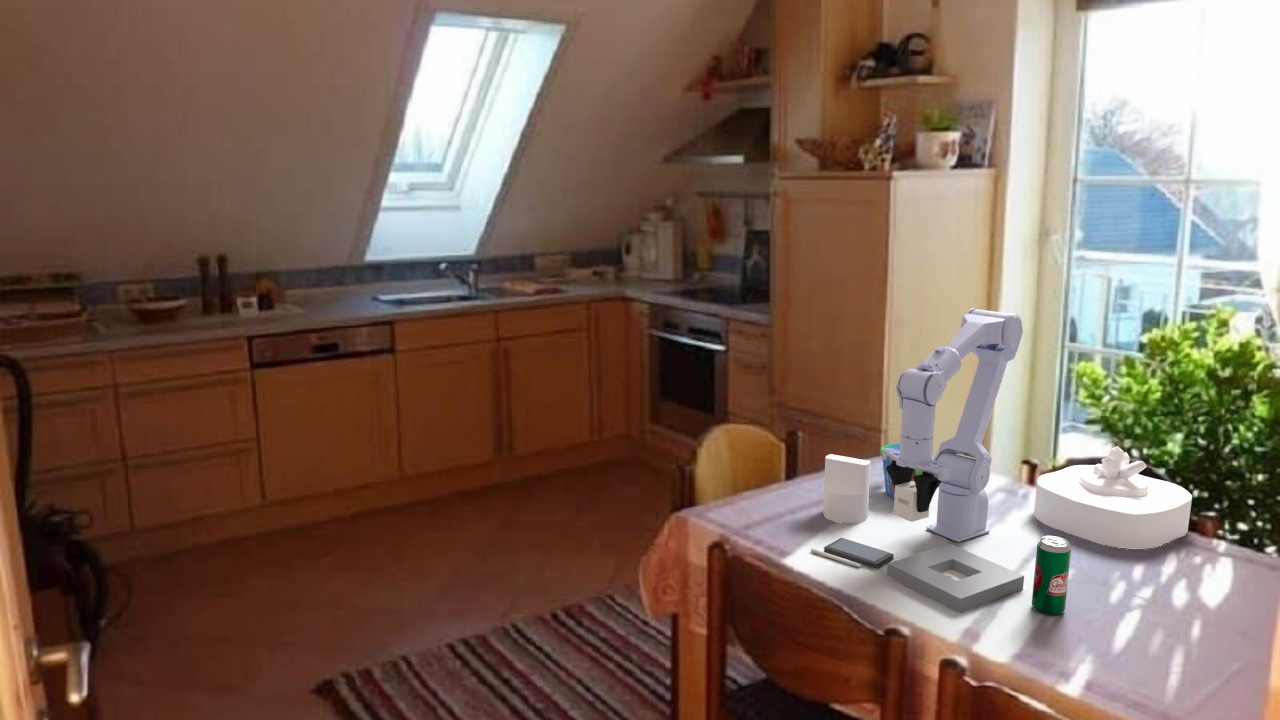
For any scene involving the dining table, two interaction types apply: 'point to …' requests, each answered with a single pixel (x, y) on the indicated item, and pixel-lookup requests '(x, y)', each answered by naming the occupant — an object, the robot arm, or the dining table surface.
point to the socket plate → (955, 577)
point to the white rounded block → (846, 489)
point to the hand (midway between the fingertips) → (912, 506)
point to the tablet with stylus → (855, 554)
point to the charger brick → (907, 502)
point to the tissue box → (1113, 503)
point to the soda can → (1051, 575)
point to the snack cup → (888, 481)
